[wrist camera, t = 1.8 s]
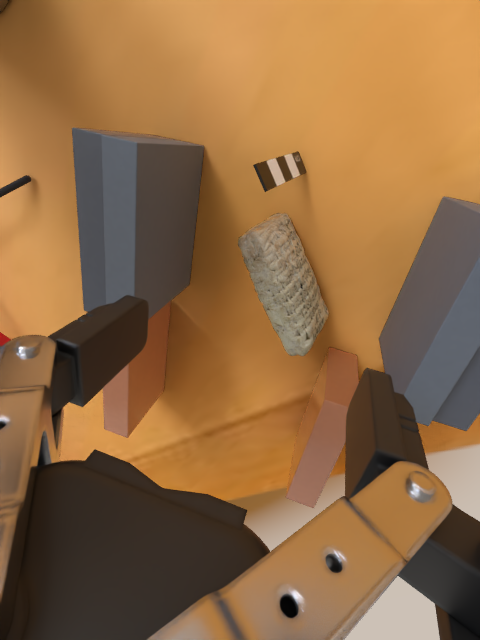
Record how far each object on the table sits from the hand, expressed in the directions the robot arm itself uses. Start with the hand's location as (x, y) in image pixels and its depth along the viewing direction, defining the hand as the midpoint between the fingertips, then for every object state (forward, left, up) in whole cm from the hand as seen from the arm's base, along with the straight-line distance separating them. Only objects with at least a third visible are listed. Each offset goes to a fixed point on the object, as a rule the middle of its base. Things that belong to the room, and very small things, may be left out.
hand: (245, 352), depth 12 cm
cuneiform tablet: (0, 0, -16) cm, 16 cm away
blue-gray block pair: (0, 0, -15) cm, 15 cm away
